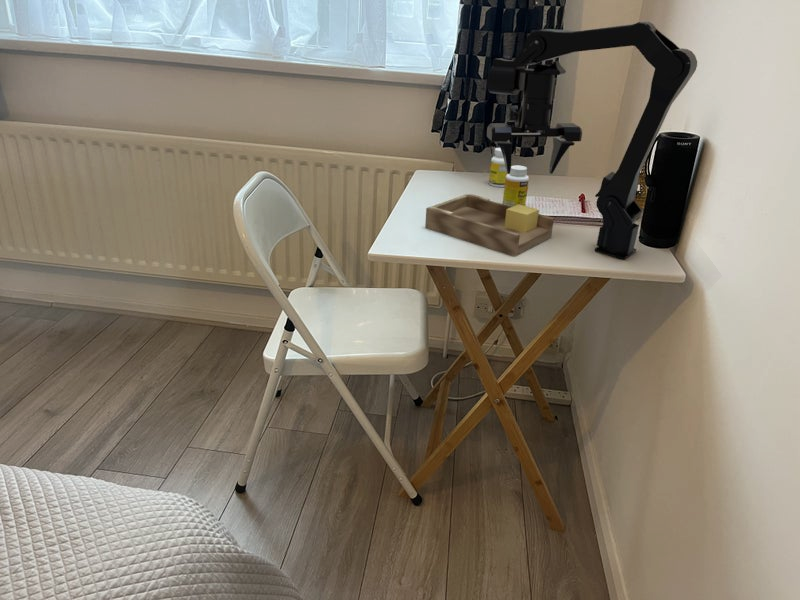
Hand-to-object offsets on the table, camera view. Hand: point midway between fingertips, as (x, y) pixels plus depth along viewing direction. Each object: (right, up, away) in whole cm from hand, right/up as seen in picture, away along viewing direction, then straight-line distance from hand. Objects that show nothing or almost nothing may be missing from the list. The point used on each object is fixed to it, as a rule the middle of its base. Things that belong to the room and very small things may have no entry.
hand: (529, 173), depth 129 cm
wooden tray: (-8, -12, +4) cm, 15 cm away
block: (-2, -11, +2) cm, 11 cm away
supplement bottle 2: (0, -5, +20) cm, 20 cm away
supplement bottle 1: (0, +5, +38) cm, 38 cm away
